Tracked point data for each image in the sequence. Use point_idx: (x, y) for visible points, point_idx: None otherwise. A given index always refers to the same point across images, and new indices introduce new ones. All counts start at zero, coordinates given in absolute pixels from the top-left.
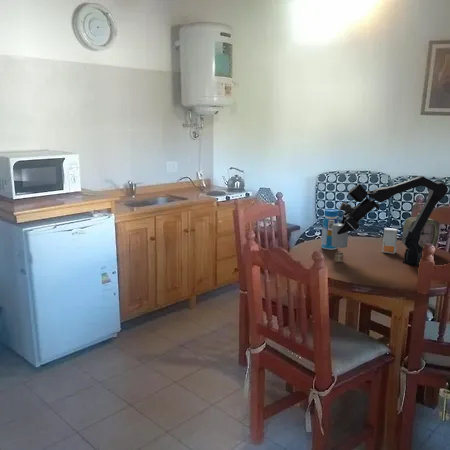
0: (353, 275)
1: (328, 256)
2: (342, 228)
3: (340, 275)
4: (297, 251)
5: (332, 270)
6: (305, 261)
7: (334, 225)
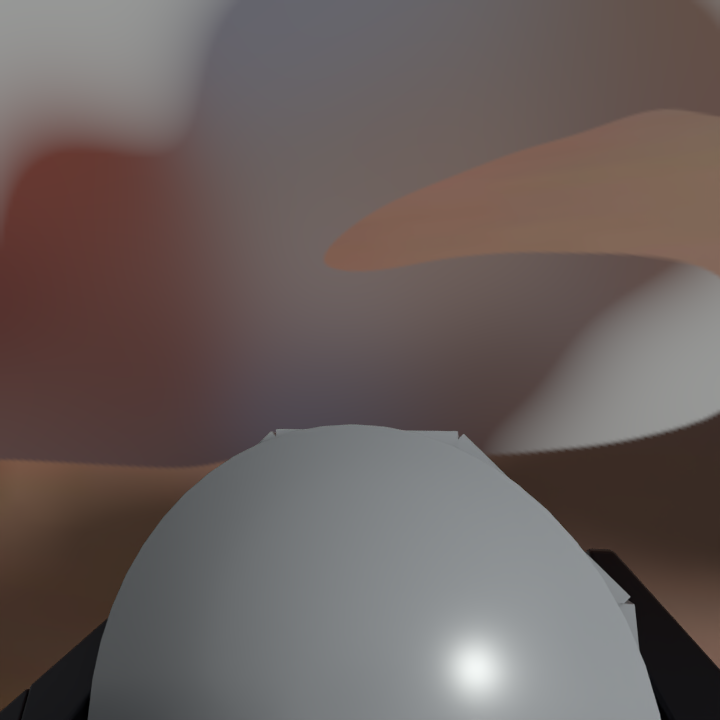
0: (8, 635)
1: (550, 455)
2: (36, 710)
3: (13, 526)
4: (653, 155)
5: (121, 471)
6: (331, 259)
7: (239, 475)
